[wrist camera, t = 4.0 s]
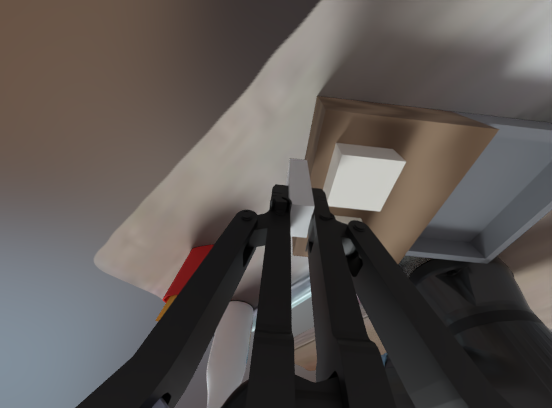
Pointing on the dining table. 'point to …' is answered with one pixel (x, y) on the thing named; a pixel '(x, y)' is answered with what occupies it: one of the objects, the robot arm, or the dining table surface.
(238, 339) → the milk bottle
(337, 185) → the front tile
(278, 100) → the dining table surface
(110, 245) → the dining table surface
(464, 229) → the box
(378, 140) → the walnut platform
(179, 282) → the french fries
